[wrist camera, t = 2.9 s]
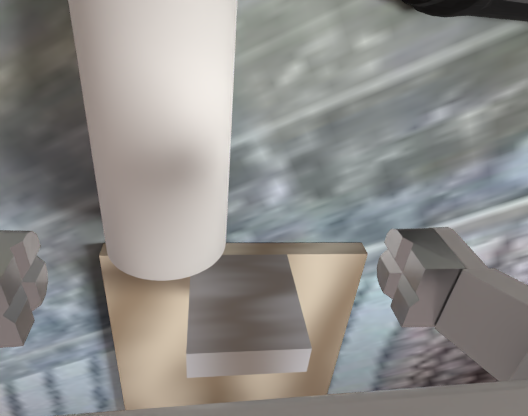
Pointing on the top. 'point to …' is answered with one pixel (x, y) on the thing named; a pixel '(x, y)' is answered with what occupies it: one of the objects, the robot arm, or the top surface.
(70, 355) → the top surface
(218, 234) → the paper roll
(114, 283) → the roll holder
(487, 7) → the electric trimmer
